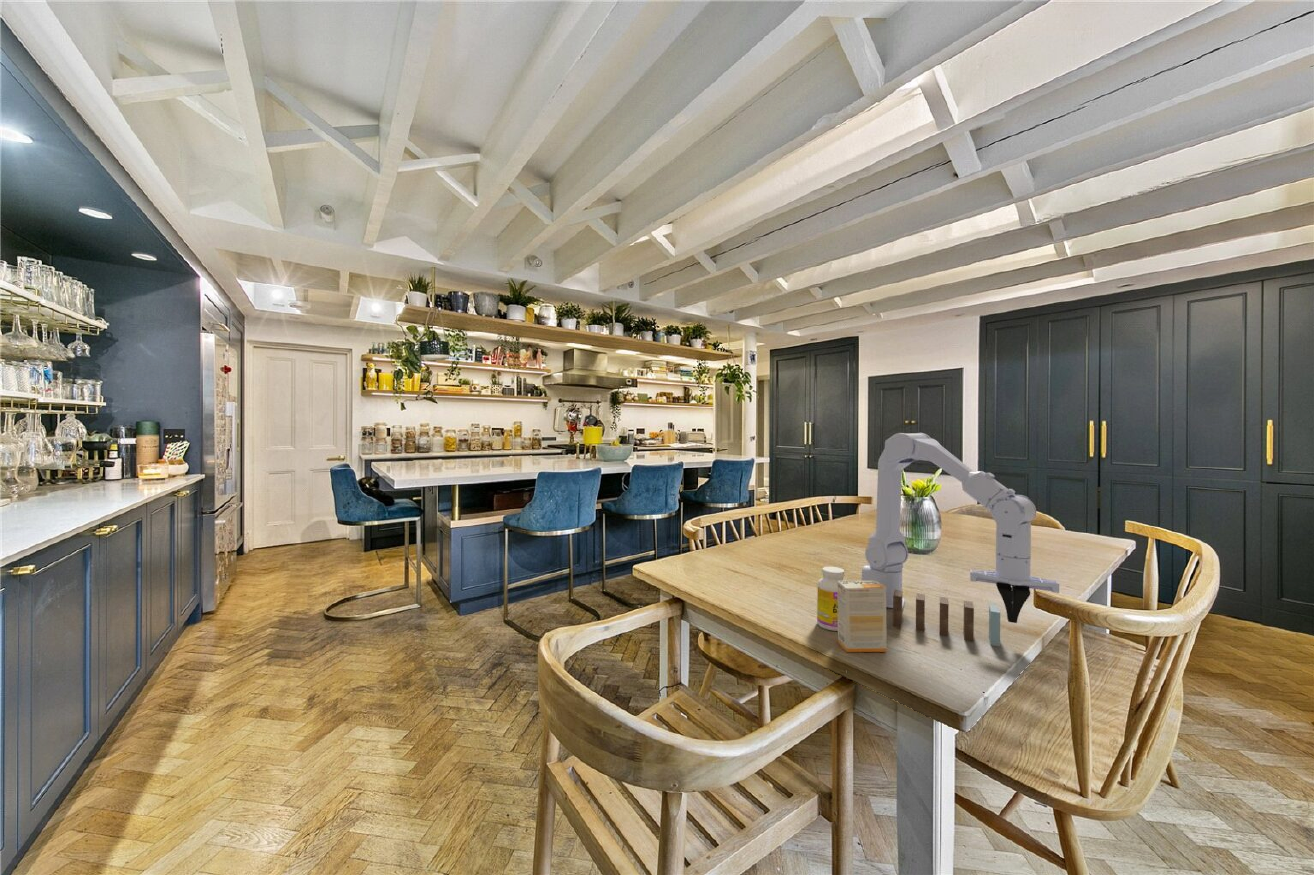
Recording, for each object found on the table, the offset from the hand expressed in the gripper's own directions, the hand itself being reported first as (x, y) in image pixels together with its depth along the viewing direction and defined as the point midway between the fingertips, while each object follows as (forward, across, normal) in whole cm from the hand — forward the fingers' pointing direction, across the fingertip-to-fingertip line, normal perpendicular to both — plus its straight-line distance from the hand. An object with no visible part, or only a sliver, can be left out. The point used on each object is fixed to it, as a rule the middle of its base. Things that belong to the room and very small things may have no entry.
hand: (1012, 620), depth 97 cm
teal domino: (+5, -3, 0) cm, 6 cm away
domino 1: (+5, -21, 0) cm, 22 cm away
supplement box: (+5, -26, -17) cm, 32 cm away
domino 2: (+5, -16, 0) cm, 17 cm away
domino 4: (+5, -8, 0) cm, 9 cm away
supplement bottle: (+5, -34, -9) cm, 35 cm away
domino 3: (+5, -12, 0) cm, 13 cm away
